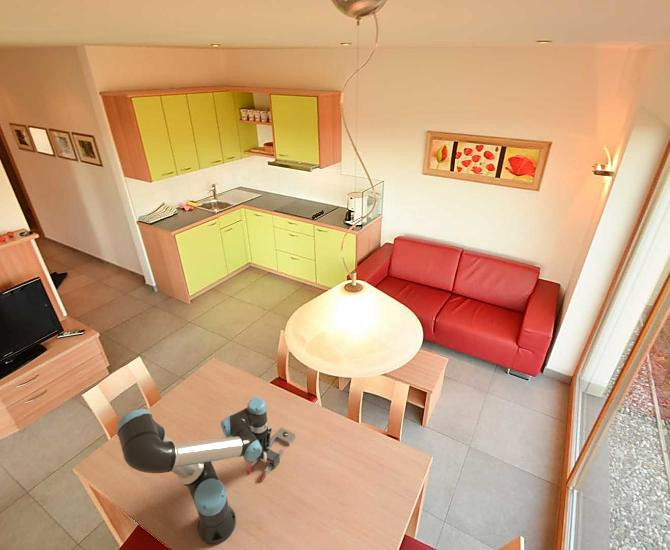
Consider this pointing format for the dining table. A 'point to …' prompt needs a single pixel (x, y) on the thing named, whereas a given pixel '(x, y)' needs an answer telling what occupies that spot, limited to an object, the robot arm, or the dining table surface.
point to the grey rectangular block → (273, 458)
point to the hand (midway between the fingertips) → (264, 460)
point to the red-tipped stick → (269, 467)
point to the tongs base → (280, 435)
